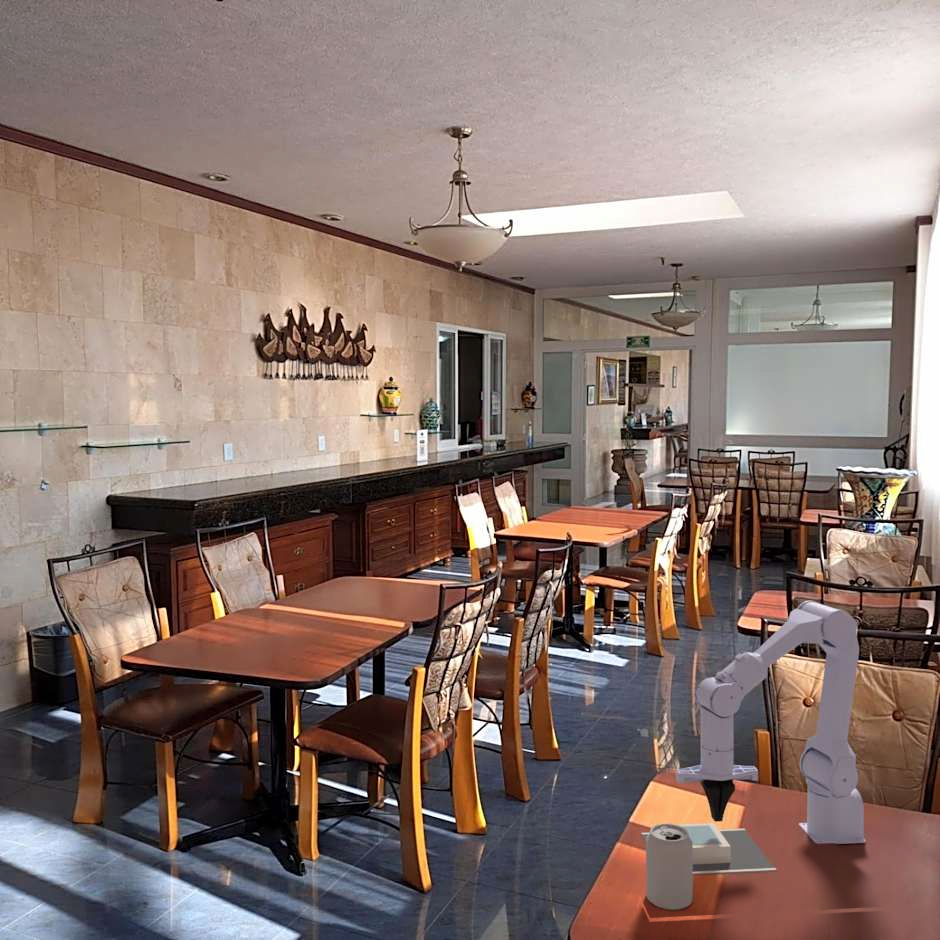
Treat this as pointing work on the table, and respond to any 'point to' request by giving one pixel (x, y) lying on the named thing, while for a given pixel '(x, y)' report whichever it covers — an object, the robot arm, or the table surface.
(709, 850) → the white rectangular block
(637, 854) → the table surface
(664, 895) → the can
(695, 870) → the mat
